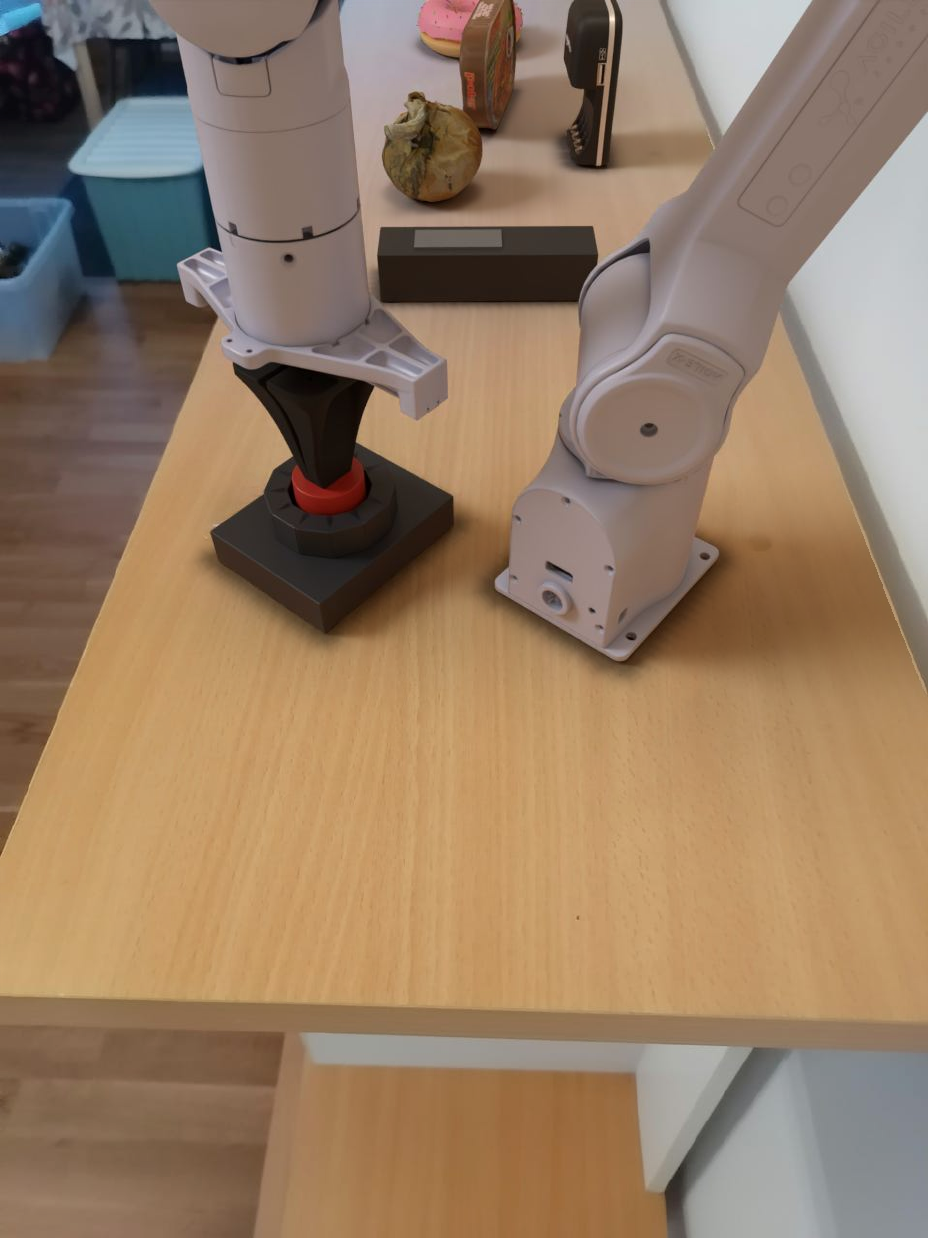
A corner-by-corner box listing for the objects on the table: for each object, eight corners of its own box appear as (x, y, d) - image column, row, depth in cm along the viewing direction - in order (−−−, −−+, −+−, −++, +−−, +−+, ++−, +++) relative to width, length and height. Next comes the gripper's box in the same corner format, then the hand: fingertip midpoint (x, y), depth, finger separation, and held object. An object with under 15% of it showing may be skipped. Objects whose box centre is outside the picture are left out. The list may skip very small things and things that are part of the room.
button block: (324, 634, 47) (314, 579, 44) (217, 561, 50) (201, 504, 47) (454, 525, 52) (453, 469, 49) (349, 465, 55) (342, 409, 52)
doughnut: (449, 71, 95) (448, 24, 92) (400, 37, 101) (397, -8, 98) (542, 51, 98) (544, 5, 95) (488, 19, 105) (489, -25, 101)
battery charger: (556, 135, 85) (566, -13, 76) (598, 134, 85) (613, -14, 76) (564, 170, 80) (575, 16, 72) (609, 169, 80) (625, 15, 72)
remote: (588, 271, 69) (593, 223, 67) (593, 300, 67) (598, 251, 64) (383, 272, 70) (380, 224, 67) (380, 301, 67) (376, 252, 64)
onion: (485, 213, 75) (487, 106, 69) (384, 217, 75) (377, 110, 69) (478, 170, 80) (479, 67, 74) (383, 174, 80) (376, 70, 74)
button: (331, 533, 47) (327, 507, 46) (281, 502, 49) (276, 476, 47) (381, 496, 49) (378, 469, 48) (331, 467, 50) (327, 441, 49)
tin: (490, 145, 84) (491, 38, 77) (455, 142, 84) (453, 35, 78) (518, 80, 93) (521, -20, 87) (486, 77, 94) (487, -22, 87)
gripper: (90, 190, 38) (172, 455, 49) (349, 313, 32) (380, 586, 42) (224, 132, 42) (273, 390, 52) (480, 233, 36) (479, 503, 46)
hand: (328, 474), depth 47 cm, fingers closed, pressing on button
